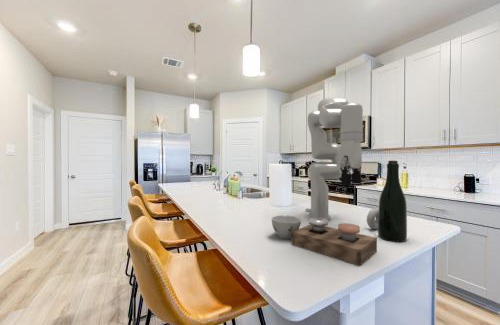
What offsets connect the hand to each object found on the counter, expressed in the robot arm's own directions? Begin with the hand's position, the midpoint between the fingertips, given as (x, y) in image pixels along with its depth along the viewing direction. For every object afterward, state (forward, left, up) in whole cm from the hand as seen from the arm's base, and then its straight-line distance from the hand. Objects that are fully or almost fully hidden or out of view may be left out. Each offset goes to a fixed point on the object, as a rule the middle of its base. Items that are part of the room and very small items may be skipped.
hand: (351, 184), depth 86 cm
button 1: (-12, -3, -20) cm, 24 cm away
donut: (-2, +33, -25) cm, 41 cm away
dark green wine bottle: (+7, +25, -25) cm, 36 cm away
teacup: (-27, -5, -25) cm, 37 cm away
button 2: (0, -3, -20) cm, 21 cm away
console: (-6, -3, -24) cm, 25 cm away
